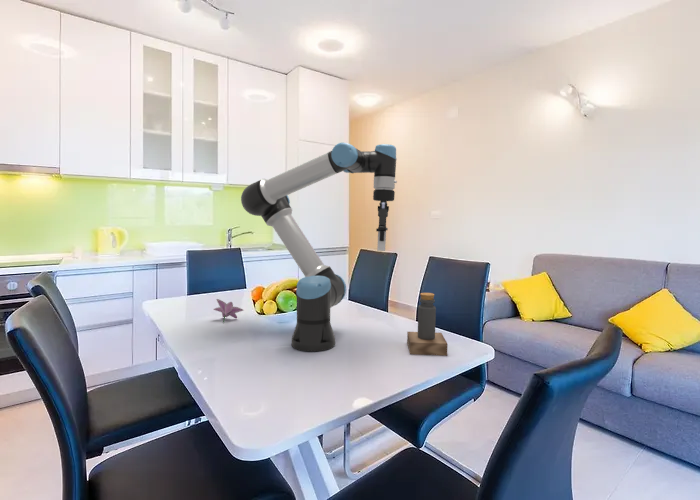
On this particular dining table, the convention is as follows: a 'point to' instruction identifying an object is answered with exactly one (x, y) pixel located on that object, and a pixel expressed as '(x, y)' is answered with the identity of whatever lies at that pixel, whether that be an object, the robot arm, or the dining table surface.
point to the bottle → (426, 317)
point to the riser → (426, 345)
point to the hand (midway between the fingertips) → (381, 249)
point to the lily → (227, 309)
